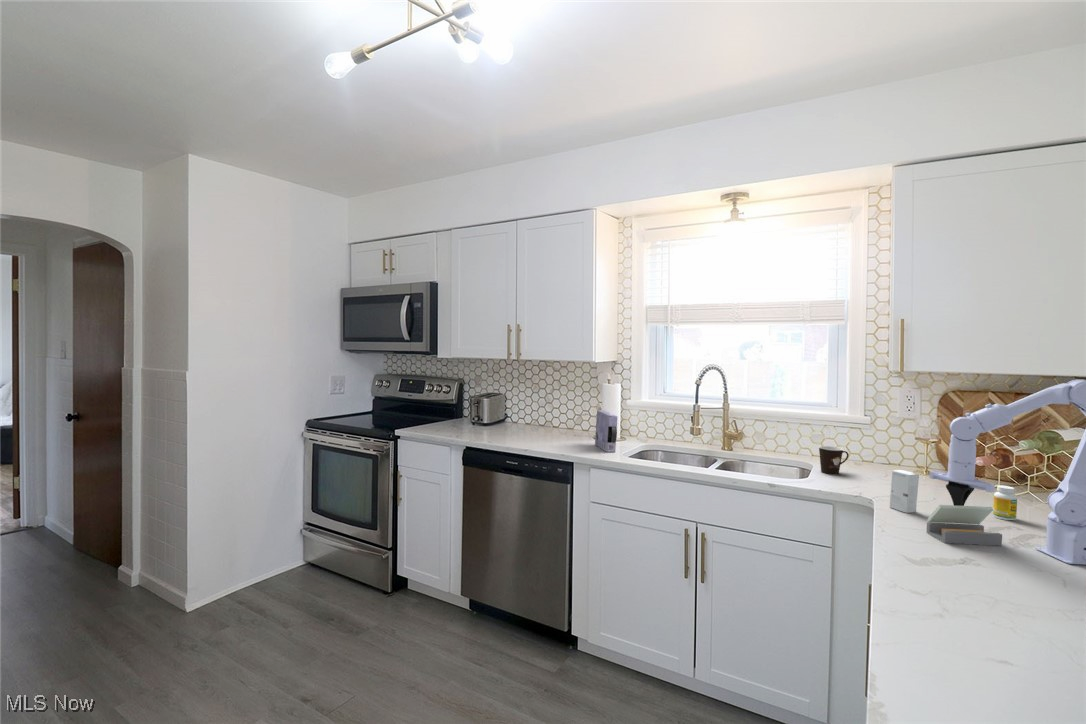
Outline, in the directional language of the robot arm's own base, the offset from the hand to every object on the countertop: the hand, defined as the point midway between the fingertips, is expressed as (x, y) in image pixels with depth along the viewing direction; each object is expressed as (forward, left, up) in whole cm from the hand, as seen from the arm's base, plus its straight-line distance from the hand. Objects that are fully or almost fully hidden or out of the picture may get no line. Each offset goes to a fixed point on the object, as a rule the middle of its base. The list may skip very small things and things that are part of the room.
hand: (958, 511), depth 143 cm
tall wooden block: (-2, 0, -7) cm, 7 cm away
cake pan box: (+103, +92, -7) cm, 138 cm away
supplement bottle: (+19, -26, -7) cm, 33 cm away
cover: (-1, 0, -1) cm, 1 cm away
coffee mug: (+71, 0, -7) cm, 71 cm away
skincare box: (+23, +1, -7) cm, 24 cm away
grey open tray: (-2, 0, -7) cm, 7 cm away
